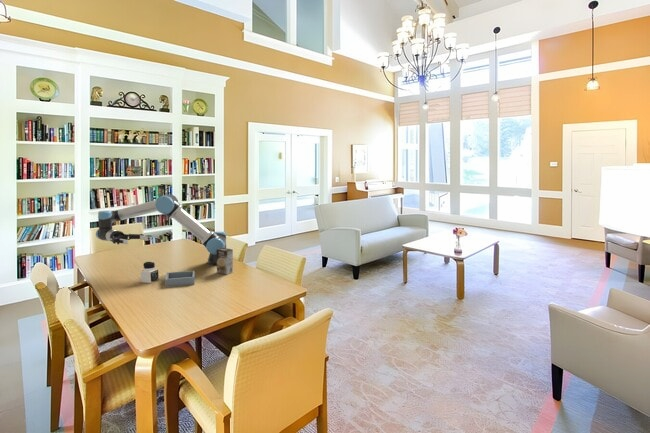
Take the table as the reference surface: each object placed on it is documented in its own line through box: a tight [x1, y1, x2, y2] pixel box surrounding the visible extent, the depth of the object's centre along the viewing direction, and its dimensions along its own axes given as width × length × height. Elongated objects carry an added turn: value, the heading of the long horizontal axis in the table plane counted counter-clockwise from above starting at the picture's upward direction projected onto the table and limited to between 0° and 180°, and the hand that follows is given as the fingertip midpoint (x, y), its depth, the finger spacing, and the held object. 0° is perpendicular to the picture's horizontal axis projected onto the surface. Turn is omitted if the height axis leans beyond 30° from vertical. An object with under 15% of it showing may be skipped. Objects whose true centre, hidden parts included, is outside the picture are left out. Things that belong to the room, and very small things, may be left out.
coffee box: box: [216, 247, 234, 275], centre depth 240 cm, size 9×6×16 cm
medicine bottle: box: [140, 260, 160, 284], centre depth 220 cm, size 7×7×12 cm
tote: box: [164, 270, 196, 288], centre depth 220 cm, size 16×14×4 cm
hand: (137, 240), depth 222 cm, fingers open, 13 cm apart
